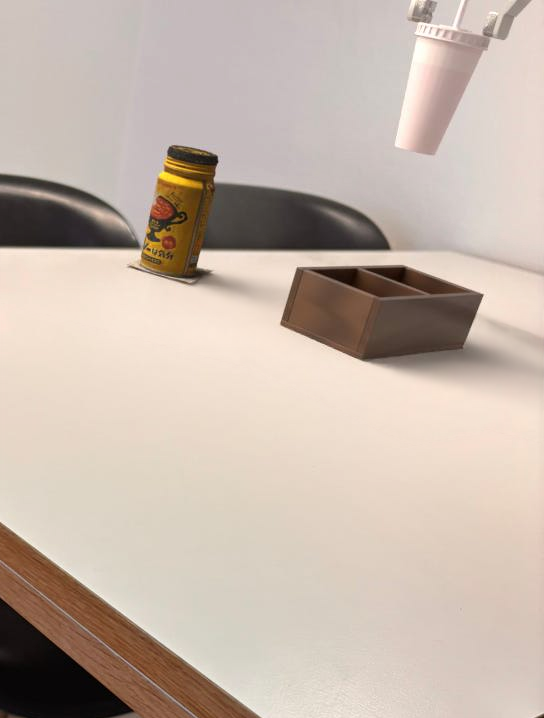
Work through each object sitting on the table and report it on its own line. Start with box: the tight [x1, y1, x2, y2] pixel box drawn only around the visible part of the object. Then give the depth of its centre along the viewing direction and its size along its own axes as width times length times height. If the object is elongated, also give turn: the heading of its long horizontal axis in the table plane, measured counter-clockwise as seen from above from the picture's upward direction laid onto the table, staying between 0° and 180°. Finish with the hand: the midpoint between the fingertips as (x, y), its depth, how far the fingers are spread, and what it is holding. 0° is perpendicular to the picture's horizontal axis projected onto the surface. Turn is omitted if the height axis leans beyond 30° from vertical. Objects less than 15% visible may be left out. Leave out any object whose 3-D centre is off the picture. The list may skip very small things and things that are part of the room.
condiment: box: [126, 144, 219, 284], centre depth 111 cm, size 7×8×12 cm
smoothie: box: [394, 0, 492, 156], centre depth 93 cm, size 6×6×14 cm
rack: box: [279, 264, 485, 361], centre depth 105 cm, size 10×19×6 cm, turn 132°
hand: (454, 30), depth 92 cm, fingers closed on smoothie, 6 cm apart
